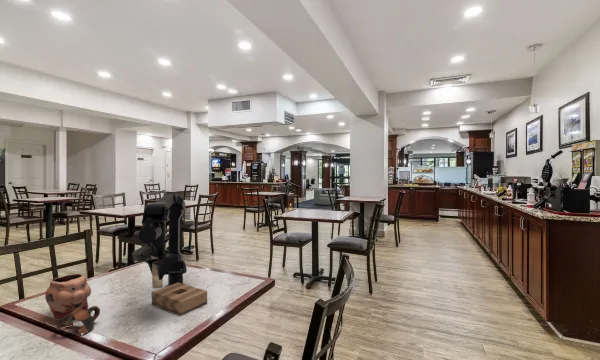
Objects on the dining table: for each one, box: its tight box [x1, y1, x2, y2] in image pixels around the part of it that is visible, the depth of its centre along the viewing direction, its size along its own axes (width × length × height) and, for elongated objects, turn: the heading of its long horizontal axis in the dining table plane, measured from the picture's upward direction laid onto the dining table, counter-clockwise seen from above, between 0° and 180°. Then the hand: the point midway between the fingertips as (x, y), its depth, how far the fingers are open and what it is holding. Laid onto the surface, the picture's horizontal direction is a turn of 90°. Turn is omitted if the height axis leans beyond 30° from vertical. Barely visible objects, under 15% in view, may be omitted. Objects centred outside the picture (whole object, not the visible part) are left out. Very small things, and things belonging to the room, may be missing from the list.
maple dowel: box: [151, 262, 164, 290], centre depth 110 cm, size 4×4×9 cm
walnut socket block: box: [151, 283, 208, 316], centre depth 116 cm, size 18×12×5 cm, turn 58°
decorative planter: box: [44, 273, 92, 321], centre depth 107 cm, size 20×12×14 cm, turn 66°
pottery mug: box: [55, 305, 101, 334], centre depth 97 cm, size 12×10×8 cm
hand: (157, 278), depth 110 cm, fingers closed on maple dowel, 3 cm apart
